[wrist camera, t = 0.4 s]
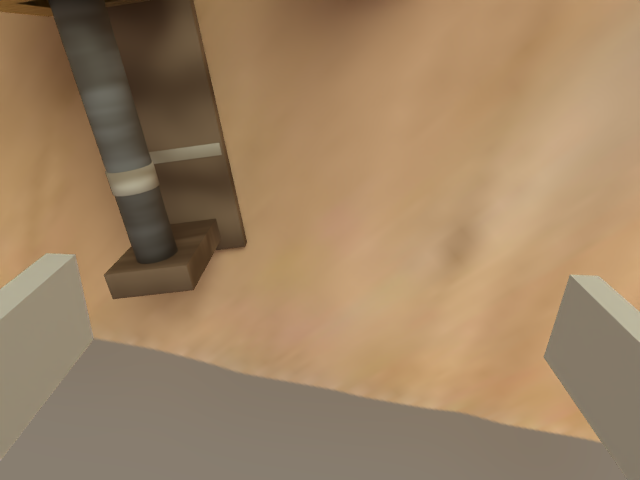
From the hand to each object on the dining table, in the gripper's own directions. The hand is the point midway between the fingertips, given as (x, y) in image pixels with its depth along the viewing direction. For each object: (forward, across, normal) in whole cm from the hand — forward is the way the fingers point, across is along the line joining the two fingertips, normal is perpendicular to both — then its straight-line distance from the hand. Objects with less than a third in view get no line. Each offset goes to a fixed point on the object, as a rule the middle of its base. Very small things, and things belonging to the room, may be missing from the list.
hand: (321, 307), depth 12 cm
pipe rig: (+27, -14, +3) cm, 31 cm away
